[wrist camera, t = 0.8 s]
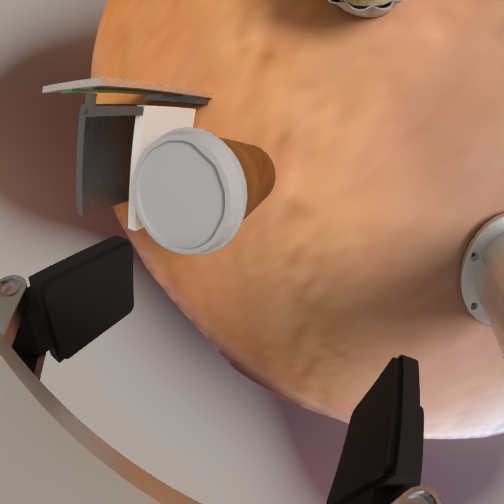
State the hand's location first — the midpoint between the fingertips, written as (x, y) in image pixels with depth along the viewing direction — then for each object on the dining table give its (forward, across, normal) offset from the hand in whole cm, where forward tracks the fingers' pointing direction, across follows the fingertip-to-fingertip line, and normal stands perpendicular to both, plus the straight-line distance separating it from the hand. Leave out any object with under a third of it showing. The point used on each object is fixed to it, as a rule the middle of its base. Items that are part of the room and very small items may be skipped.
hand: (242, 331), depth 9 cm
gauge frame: (+21, +20, 0) cm, 29 cm away
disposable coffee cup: (+22, +10, 0) cm, 24 cm away
